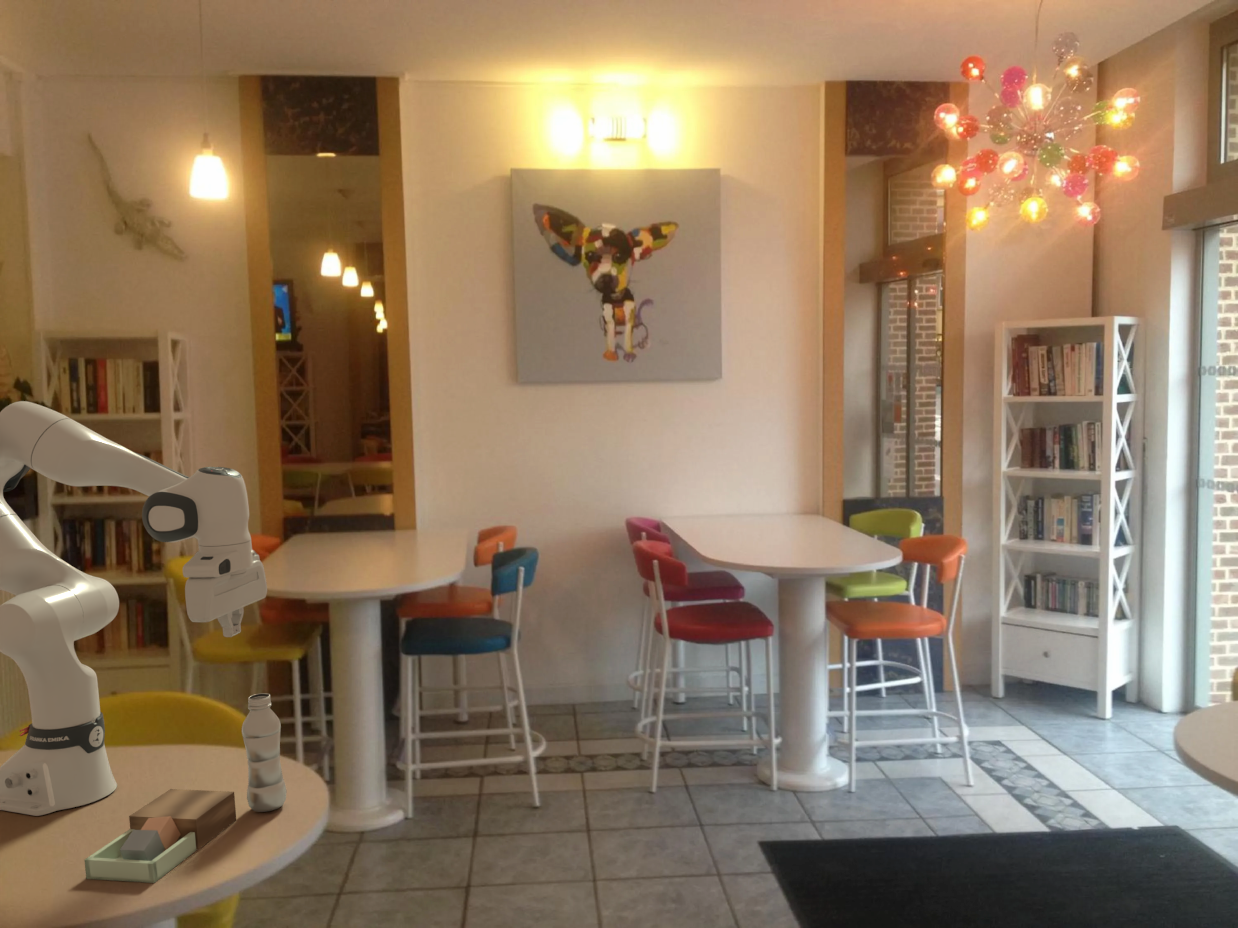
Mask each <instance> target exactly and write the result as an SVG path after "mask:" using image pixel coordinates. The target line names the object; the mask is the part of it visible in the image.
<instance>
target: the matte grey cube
mask: <svg viewBox="0 0 1238 928" xmlns="http://www.w3.org/2000/svg"><path fill="white" fill-rule="evenodd" d="M163 851H164V846H163V844H162V841H161V839H160V836H159V834H158V831H157V830H133V831H132V833H131V834H130V835H129V837H128V838H127V840H126V841H125V843H124V844H123V846H122V847H121V849H120V852H121V854H122V857H123V859H127V860H144V861H152V860H153V859H155V858H156V857H157V856H159V855H160V854H161V853H163Z"/></svg>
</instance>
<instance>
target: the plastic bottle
mask: <svg viewBox="0 0 1238 928" xmlns="http://www.w3.org/2000/svg"><path fill="white" fill-rule="evenodd" d="M247 700H248V702H247V703H248V705H247V709H248V710H249V713H248V714H247V716H246V717H245V718H244V720H243V723H242V726H241V735H242V739H243V744H244V746H245V752H246V753H245V754H246V759H247V766H248V773H247V775H248V776H247V777H248V781H247V782H248V783H247V784H248V785H247V789H246V791H247V792H246V800H247V803H248V806H249V808H250V810H252V811H254V812H257V813H265V812H271V811H274V810H277V809H279V808H280V807H283V805H284V804H285V802H286V799H287V785H286V782H285V779H284V776H283V770H282V765H281V748H280V747H281V746H280V745H281V744H280V742H281V732H282V731H281V728H282V726H281V720H280V718H279V717H278V716H277V714H276V713H275V712H274V711H273V710H272V709H271V706H272V702H271V694H270V693H266V692H265V693H263V692H262V693H256V694H252V695H250V696H249V697H248V698H247Z"/></svg>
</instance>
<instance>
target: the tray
mask: <svg viewBox="0 0 1238 928" xmlns="http://www.w3.org/2000/svg"><path fill="white" fill-rule="evenodd" d="M133 830H135V829H130V828H129V829H128V830H126V831H125V832H124V833H122V834H120V835H119V836H117V837H116V838H115V839H113V840H111V841H110V842H109V843H107V844H105V845H104V846H102V847H101V848H99V849H98V850H97V851H95V852H94V853H92V854H91V855H89V856H88V857H86V858H85V859H84V869H85V870H84V871H85V879H87V880H99V881H100V880H103V881H114V882H115V881H117V882H118V881H119V882H133V883H148V884H149V883H150V884H156V882H158V881H159V880H160V879H162V878H163V877H164V876H165V875H166V874H168V873H169V872H171V870H173V869H175V867H177V866H178V865H179V864H181V863H182V862H183V861H185V860H186V859H188V858H189V857H190V856H192V854H194V853H195V852H196V851H197V850H196V841H195V832H190V833H188V834H187V835H186V836H184V837H183V838H182V839H180V840H179V841H178V842H176V843H175V844H173V845H172V846H171V847H169V848H168V849H167V850H165V851H164V852H163V853H161V854H160V855H159V856H157V857H156V858H155V859H153V860H152V861H144V860H127V859H123V857H122V854H121V852H120V849H121V847H122V846H123V844H124V843H125V841H126V840H127V838H128V837H129V835H130V834H131V833H132V831H133Z"/></svg>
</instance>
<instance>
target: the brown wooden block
mask: <svg viewBox="0 0 1238 928" xmlns="http://www.w3.org/2000/svg"><path fill="white" fill-rule="evenodd" d="M236 809H237V808H236V799H235V791H223V790H202V789H200V790H198V789H178V788H170V789H169V790H167V791H165V792H164V793H162V794H161V795H160V796H158V797H157V798H155V799H153V800H151V801H150V802H149V803H147V804H146V805H144V806H143V807H141V808H139V809H138V810H136V811H134V812H132V814H130V815H129V816H128V819H129V827H130V828H129V829H135V830H141V829H142V827H143V826H144V824H145V823H146V821H147V820H148V818H155V817H167V816H171V818H172V819H173V821H174V823H175V825H176V827H177V829H178V830H179V832H180V834H181V835H180V837H179V838H178V840H177V841H176V842H178V841H179V840H180V839H182V838H183V837H184V836H186V835H187V834H188V833H190V832H195V841H196V851H198V850H200V849H202V847H204V846H205V845H206V844H208V843H209V842H210V841H212V840H213V839H214V838H216V837H217V836H218V835H220V833H222V832H224V830H226V829H227V828H229V827H230V826H231V825H232V824H234V823H235V822H236V821H237V812H236V811H237V810H236Z"/></svg>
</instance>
